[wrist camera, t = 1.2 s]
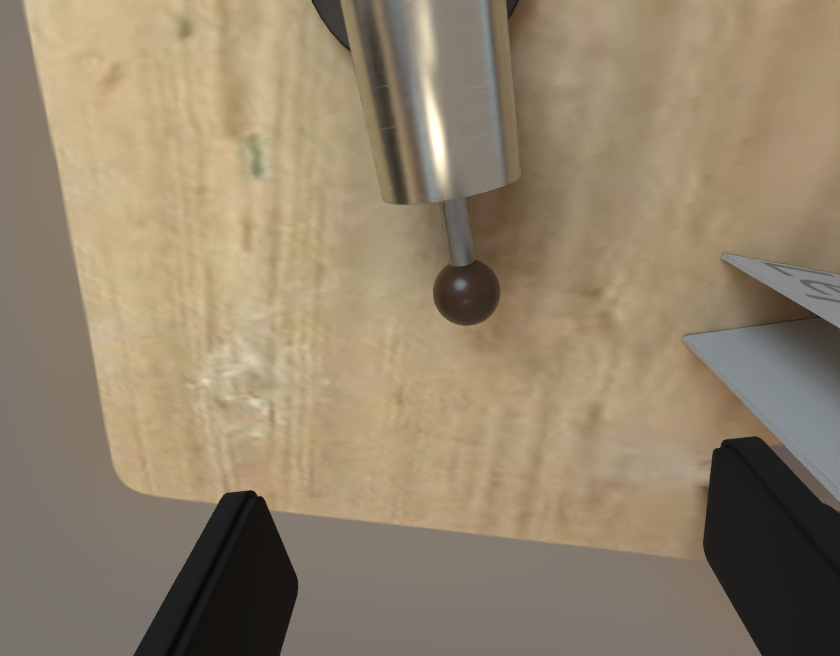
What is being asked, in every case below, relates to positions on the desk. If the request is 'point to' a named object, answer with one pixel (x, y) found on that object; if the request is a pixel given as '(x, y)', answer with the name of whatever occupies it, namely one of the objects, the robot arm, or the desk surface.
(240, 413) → the desk surface
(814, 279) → the brochure
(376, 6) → the knobbed metal cylinder
